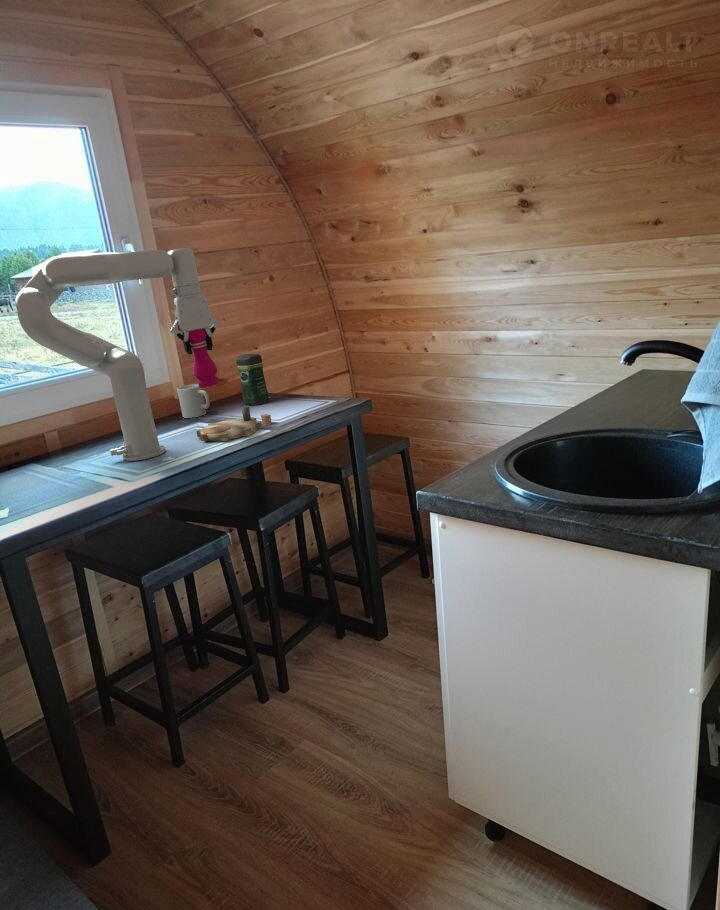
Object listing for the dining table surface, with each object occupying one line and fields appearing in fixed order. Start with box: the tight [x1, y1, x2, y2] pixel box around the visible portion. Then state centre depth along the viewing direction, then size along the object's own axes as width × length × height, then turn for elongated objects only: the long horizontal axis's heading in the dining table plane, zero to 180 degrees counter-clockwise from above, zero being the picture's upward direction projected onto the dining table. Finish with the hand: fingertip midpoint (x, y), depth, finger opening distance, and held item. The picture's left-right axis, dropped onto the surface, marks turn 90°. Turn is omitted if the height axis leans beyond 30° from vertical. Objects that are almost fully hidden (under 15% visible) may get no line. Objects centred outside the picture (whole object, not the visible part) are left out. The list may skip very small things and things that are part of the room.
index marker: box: [260, 413, 273, 426], centre depth 233 cm, size 2×3×3 cm, turn 32°
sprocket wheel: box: [195, 406, 263, 442], centre depth 226 cm, size 20×20×6 cm
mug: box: [176, 383, 210, 419], centre depth 259 cm, size 12×8×11 cm
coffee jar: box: [235, 353, 270, 406], centre depth 266 cm, size 10×8×19 cm
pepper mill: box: [188, 329, 220, 389], centre depth 218 cm, size 7×7×20 cm
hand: (199, 351), depth 217 cm, fingers closed on pepper mill, 5 cm apart
